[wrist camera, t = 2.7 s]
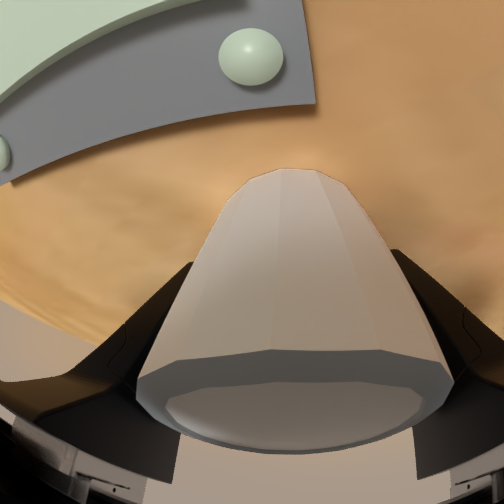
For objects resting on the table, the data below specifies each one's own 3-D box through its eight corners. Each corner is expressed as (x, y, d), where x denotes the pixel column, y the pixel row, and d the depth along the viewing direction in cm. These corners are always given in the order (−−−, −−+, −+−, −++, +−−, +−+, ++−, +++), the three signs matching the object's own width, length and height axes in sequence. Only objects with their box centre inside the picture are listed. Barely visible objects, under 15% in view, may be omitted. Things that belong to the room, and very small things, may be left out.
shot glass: (212, 130, 8) (88, 303, 3) (410, 182, 9) (516, 356, 3) (196, 284, 13) (153, 436, 7) (341, 310, 13) (356, 456, 7)
